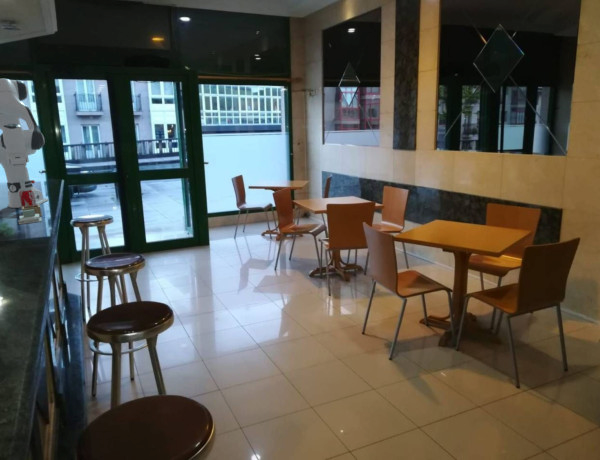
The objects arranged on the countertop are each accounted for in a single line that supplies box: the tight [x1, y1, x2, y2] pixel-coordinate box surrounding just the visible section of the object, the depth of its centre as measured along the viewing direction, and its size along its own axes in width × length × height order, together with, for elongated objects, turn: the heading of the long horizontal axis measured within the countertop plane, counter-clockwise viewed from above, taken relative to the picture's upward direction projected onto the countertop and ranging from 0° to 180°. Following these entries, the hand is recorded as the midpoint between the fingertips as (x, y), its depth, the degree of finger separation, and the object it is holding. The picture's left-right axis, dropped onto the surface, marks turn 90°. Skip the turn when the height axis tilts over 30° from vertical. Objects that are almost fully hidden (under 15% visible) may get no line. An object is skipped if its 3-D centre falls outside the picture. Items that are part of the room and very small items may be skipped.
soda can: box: [19, 189, 36, 208], centre depth 256 cm, size 7×7×12 cm
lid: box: [19, 209, 40, 222], centre depth 233 cm, size 8×8×5 cm
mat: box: [17, 216, 43, 225], centre depth 234 cm, size 10×10×1 cm
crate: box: [21, 204, 43, 218], centre depth 244 cm, size 8×8×5 cm
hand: (23, 187), depth 230 cm, fingers open, 8 cm apart
